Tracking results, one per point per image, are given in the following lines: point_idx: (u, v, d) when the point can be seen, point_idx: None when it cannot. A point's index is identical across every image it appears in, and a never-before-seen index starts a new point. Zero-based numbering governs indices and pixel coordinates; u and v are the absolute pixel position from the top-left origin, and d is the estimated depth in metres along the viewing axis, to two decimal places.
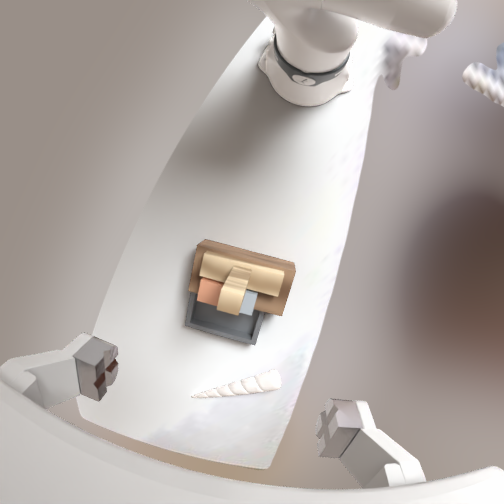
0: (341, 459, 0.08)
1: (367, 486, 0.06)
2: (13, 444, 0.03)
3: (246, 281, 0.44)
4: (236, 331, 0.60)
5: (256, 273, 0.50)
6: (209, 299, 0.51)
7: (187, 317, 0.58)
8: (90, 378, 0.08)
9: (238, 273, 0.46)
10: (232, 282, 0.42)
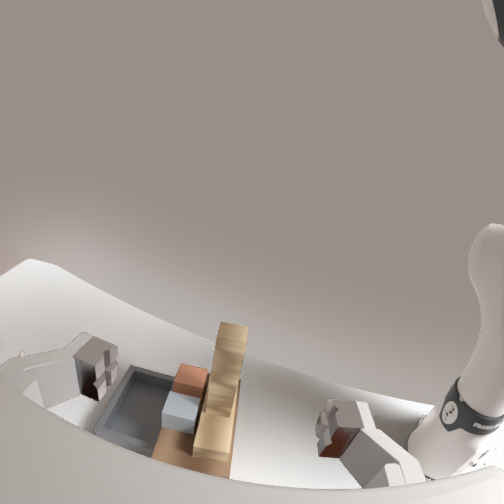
0: (341, 459, 0.08)
1: (367, 486, 0.06)
2: (13, 444, 0.03)
3: (237, 382, 0.30)
4: (113, 418, 0.33)
5: (225, 422, 0.31)
6: (183, 374, 0.37)
7: (141, 369, 0.43)
8: (90, 378, 0.08)
9: None
10: None
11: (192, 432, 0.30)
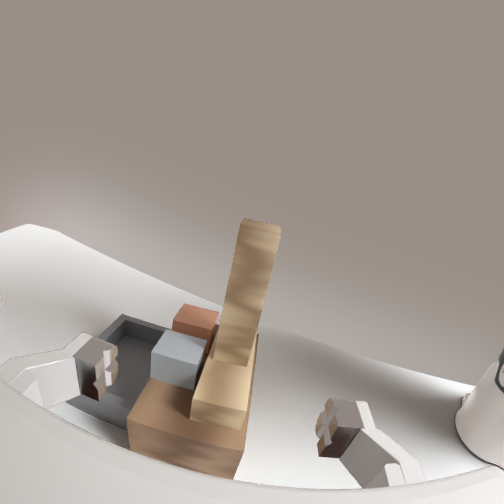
0: (341, 459, 0.08)
1: (367, 486, 0.06)
2: (13, 444, 0.03)
3: (263, 303, 0.23)
4: None
5: (240, 372, 0.23)
6: (186, 314, 0.30)
7: (134, 319, 0.36)
8: (90, 378, 0.08)
9: None
10: None
11: (192, 387, 0.23)
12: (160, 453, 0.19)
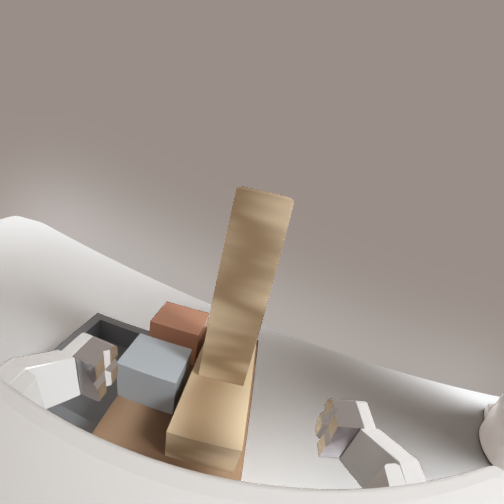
0: (341, 459, 0.08)
1: (367, 486, 0.06)
2: (13, 444, 0.03)
3: None
4: None
5: (235, 393, 0.17)
6: (168, 314, 0.23)
7: (111, 319, 0.29)
8: (90, 378, 0.08)
9: None
10: None
11: (171, 411, 0.17)
12: None
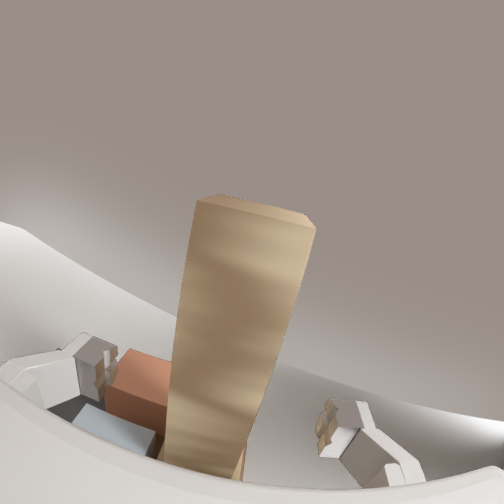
0: (341, 459, 0.08)
1: (367, 486, 0.06)
2: (13, 444, 0.03)
3: (260, 399, 0.09)
4: None
5: None
6: (128, 370, 0.16)
7: None
8: (90, 378, 0.08)
9: None
10: None
11: None
12: None
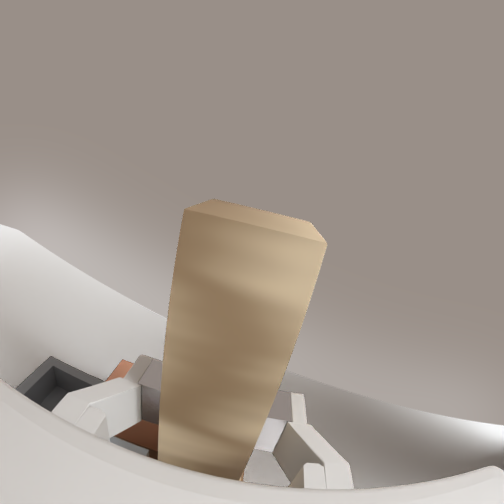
0: (274, 453, 0.08)
1: (290, 485, 0.06)
2: (13, 444, 0.03)
3: (260, 427, 0.08)
4: None
5: None
6: None
7: (66, 365, 0.20)
8: (157, 404, 0.08)
9: None
10: None
11: None
12: None
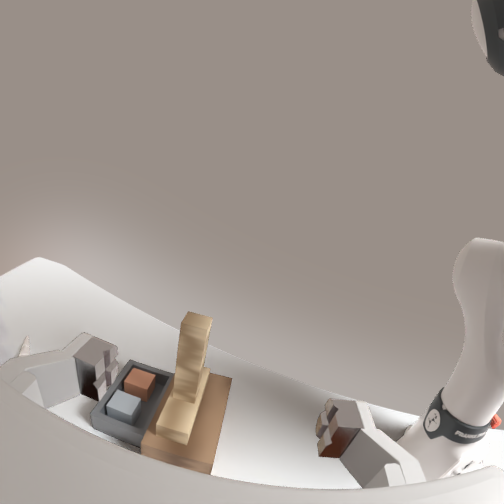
0: (341, 459, 0.08)
1: (367, 486, 0.06)
2: (13, 444, 0.03)
3: (200, 368, 0.33)
4: None
5: (189, 407, 0.33)
6: None
7: (139, 363, 0.46)
8: (90, 378, 0.08)
9: (200, 375, 0.35)
10: (206, 346, 0.34)
11: (107, 407, 0.34)
12: None
